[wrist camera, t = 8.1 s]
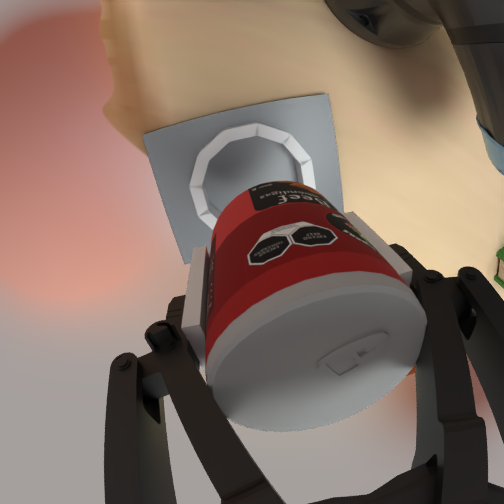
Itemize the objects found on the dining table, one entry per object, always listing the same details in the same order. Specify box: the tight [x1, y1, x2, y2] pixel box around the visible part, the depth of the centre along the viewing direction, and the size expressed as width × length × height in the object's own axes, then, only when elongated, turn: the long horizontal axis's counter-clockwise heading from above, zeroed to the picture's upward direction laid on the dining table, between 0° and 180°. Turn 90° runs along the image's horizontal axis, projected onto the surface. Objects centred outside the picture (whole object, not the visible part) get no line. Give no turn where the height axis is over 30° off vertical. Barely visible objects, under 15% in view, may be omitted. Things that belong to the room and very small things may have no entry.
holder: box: [142, 94, 344, 264], centre depth 30 cm, size 16×20×4 cm
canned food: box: [205, 181, 427, 432], centre depth 14 cm, size 8×8×11 cm
